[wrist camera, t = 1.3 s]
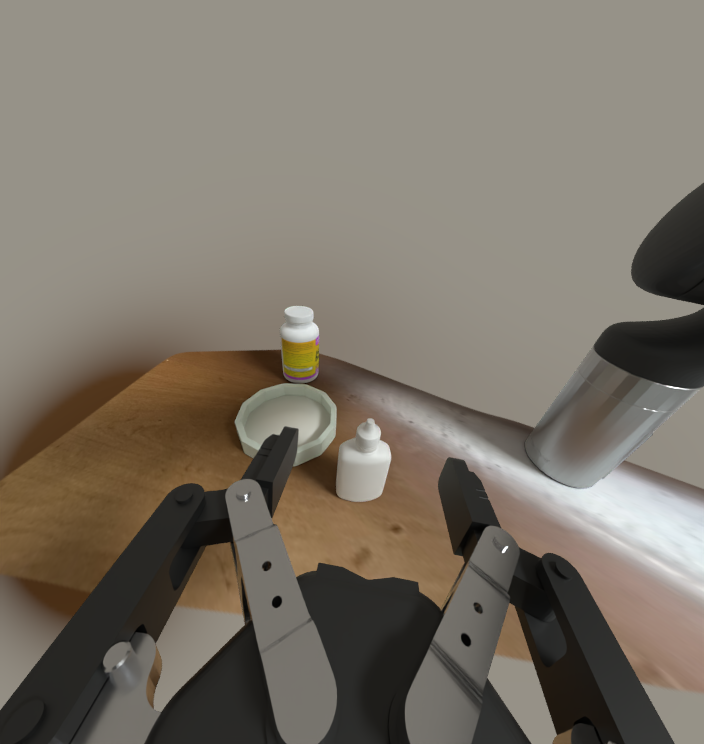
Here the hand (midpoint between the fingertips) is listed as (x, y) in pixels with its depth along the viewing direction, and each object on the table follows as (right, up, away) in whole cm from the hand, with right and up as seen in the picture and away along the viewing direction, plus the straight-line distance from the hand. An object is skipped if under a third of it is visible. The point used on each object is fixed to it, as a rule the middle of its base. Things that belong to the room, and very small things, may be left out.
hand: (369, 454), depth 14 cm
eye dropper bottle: (0, -10, +18) cm, 21 cm away
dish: (-10, -4, +26) cm, 28 cm away
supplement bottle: (-11, +4, +36) cm, 38 cm away
